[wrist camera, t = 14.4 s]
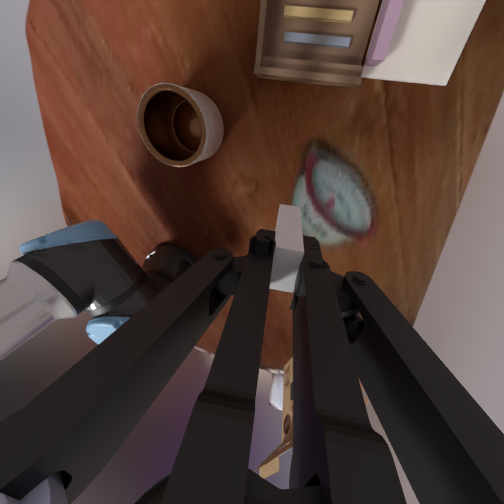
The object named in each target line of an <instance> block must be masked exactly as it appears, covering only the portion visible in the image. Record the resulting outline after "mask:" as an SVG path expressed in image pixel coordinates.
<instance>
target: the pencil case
mask: <svg viewBox="0 0 504 504" xmlns="http://www.w3.org/2000/svg"><path fill="white" fill-rule="evenodd" d="M378 4H379V0H261V2H260V13H259V25H258V37H257V48H256V60H255V66H254V74H255V75H256V77H257V78H261V79H271V80H280V81H289V82H298V83H307V84H316V85H326V86H335V87H344V88H355V87H357V86H359V85H360V84H361V81H362V77H361V73H362V70H363V66H361V63H362V59H363V56H364V52H365V49H366V45H367V42H368V38H369V35H370V32H371V28H372V25H373V21H374V18H375V14H376V11H377V7H378Z"/></svg>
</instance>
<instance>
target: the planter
mask: <svg viewBox="0 0 504 504" xmlns="http://www.w3.org/2000/svg"><path fill="white" fill-rule="evenodd" d="M137 123H138V128H139V132H140V135H141V137H142V140H143V142H144V144H145V145H146V147H147V148H148V150H149V151H150V152H151V153H152V154H153V155H154V156H155V157H156V158H157V159H158V160H159V161H161V162H163V163H164V164H166V165H169V166H172V167H186V166H189V165H192V164H194V163H197V162H199V161H202V160H205V159H207V158H209V157H211V156H213V155H214V154H215V153H216V152H217V150H218V149H219V147H220V145H221V143H222V140H223V135H224V125H223V120H222V116H221V114H220V111H219V109H218V108H217V106H216V105H215V103H214V102H213V101H212V100H211V99H210V98H209V97H208V96H206V95H205V94H203V93H201V92H199V91H196V90H192V89H189V88H185V87H182V86H179V85H175V84H172V83H158V84H155V85H153V86H151V87H150V88H148V89H147V90H146V91H145V93H144V94H143V95H142V97H141V99H140V102H139V105H138V110H137Z"/></svg>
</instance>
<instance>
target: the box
mask: <svg viewBox="0 0 504 504" xmlns="http://www.w3.org/2000/svg"><path fill="white" fill-rule="evenodd" d="M286 444H287V445H286ZM284 445H286V446H284ZM283 446H284V447H283ZM281 447H283V448H282V449H280V448H281ZM292 447H293V357H292V358H291V359H290V360H289V362H288V363H287V364H286V365H285V366H284V388H283V419H282V443H281V444H280V445H279V447H277V449H275V450H274V451H273V452H272V453H271V454H270V455H269V456H268V457H267V458H266V460H264V461H263V462H262V463H261V464H260V465H259V466H258V467H257V468H256V469H255V470H254V471H256V470H257V469H259V468H260V476H261V477H262V478H264V479H265V478H267V477H269V476H270V475H272V474H274V473H276V472H278V471H279V456H280V455H281V454H283V453H284V452H286V451H288V450H289V449H290V448H292ZM279 449H280V450H279ZM270 461H271V462H270ZM268 462H270V463H268ZM267 463H268V464H267ZM266 464H267V465H266Z"/></svg>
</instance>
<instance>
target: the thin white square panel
mask: <svg viewBox="0 0 504 504" xmlns="http://www.w3.org/2000/svg"><path fill="white" fill-rule="evenodd" d="M485 1H486V0H383V1H382V4H381V8H380V11H379V15H378V18H377V21H376V25H375V28H374V32H373V35H372V39H371V42H370V45H369V49H368V52H367V56H366V59H365V63H364V66H363V70H362V73H361V77H362V78H371V79H381V80H391V81H401V82H410V83H420V84H430V85H440V86H446V85H447V82H448V80H449V78H450V76H451V74H452V72H453V70H454V67H455V65H456V63H457V61H458V59H459V57H460V55H461V52H462V50H463V48H464V46H465V44H466V42H467V40H468V37H469V35H470V33H471V31H472V29H473V27H474V25H475V22H476V20H477V18H478V16H479V14H480V12H481V10H482V8H483V5H484V3H485Z"/></svg>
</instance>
